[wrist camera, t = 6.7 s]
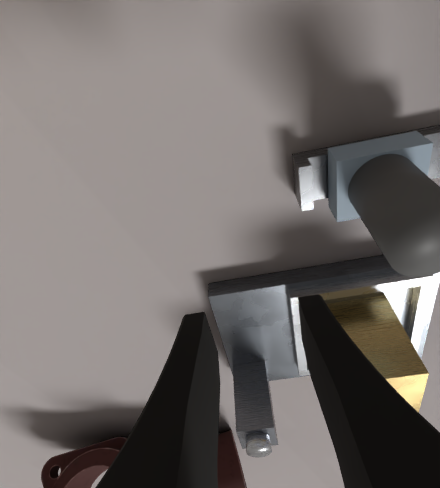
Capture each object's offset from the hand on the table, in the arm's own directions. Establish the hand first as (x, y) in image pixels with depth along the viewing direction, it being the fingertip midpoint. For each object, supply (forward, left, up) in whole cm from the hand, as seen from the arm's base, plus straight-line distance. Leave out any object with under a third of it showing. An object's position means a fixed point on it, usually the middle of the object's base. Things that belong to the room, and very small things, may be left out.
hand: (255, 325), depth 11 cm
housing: (-6, +11, -8) cm, 15 cm away
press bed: (-4, +12, -9) cm, 15 cm away
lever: (-7, 0, -9) cm, 11 cm away
